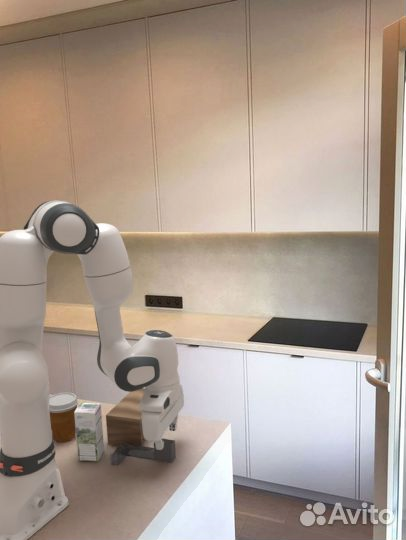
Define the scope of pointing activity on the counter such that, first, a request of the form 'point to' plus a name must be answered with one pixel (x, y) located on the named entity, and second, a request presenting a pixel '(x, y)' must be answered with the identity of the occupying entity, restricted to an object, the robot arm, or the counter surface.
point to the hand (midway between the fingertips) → (167, 438)
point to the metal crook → (145, 452)
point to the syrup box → (89, 431)
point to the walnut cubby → (126, 421)
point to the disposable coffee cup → (63, 416)
